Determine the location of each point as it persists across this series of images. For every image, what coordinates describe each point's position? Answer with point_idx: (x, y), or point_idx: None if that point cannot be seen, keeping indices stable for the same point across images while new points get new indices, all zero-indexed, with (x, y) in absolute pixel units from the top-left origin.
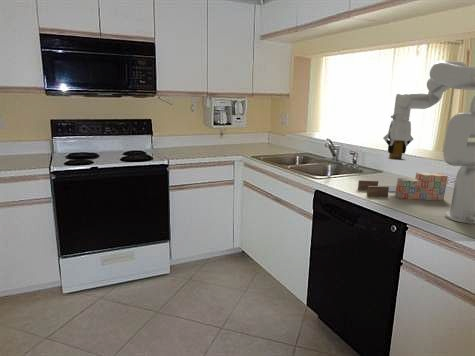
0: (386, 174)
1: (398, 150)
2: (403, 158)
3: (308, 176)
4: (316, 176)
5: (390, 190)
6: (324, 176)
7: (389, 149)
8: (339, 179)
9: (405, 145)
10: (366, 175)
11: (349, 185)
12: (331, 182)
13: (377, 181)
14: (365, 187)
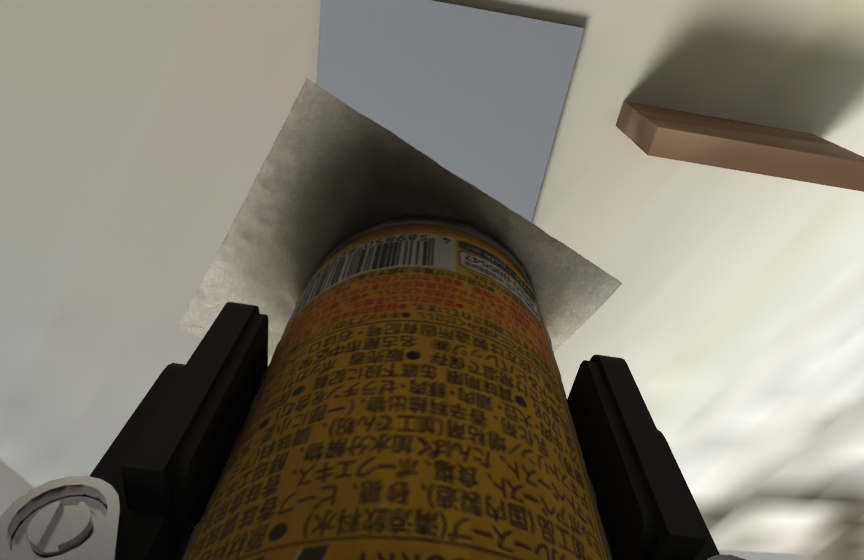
0: None
1: (458, 343)
2: None
3: (854, 545)
4: (791, 542)
5: (504, 52)
6: (727, 539)
7: (671, 460)
8: None
9: (120, 501)
10: None
11: (753, 299)
12: (830, 395)
13: (668, 128)
14: (762, 131)
